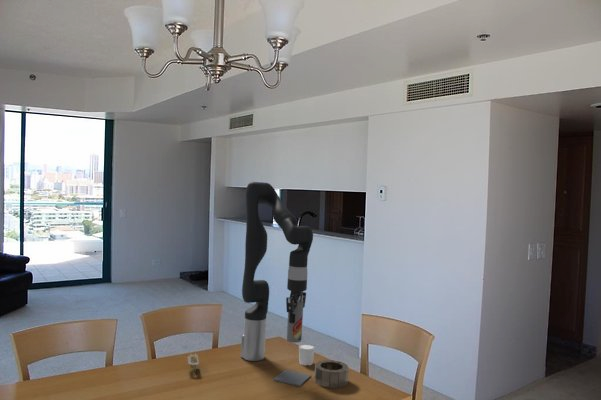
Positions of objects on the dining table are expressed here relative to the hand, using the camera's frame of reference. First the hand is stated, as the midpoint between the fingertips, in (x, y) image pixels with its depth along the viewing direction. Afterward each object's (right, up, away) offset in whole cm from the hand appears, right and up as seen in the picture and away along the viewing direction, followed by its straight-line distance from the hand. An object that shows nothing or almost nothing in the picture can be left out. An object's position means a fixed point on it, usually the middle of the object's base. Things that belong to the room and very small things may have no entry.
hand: (295, 321), depth 189 cm
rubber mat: (-1, -22, 0) cm, 22 cm away
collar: (+14, -23, -1) cm, 27 cm away
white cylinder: (+4, -22, +18) cm, 29 cm away
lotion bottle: (0, -8, 0) cm, 8 cm away
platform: (-40, -21, +3) cm, 46 cm away
